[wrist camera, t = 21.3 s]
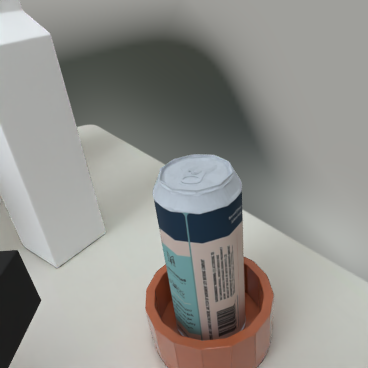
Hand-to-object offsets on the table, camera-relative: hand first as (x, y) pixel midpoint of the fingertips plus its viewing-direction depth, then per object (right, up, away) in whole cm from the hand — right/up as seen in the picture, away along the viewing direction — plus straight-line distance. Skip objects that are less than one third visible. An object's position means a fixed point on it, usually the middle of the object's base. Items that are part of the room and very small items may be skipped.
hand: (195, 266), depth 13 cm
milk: (-12, -3, +22) cm, 26 cm away
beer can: (+1, -7, +11) cm, 13 cm away
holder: (+2, -7, +12) cm, 14 cm away
